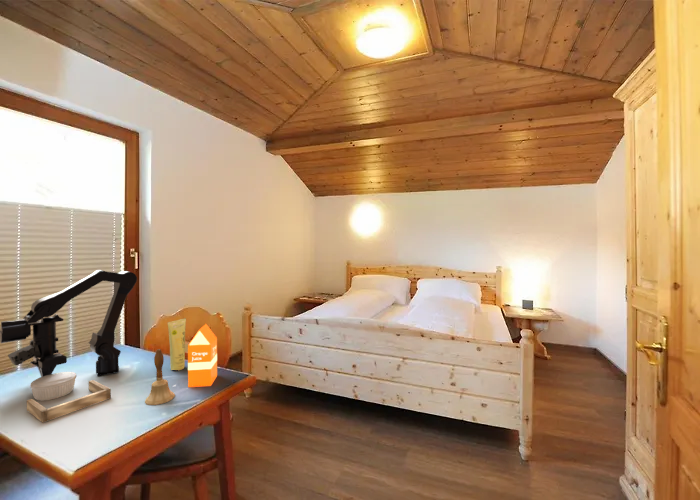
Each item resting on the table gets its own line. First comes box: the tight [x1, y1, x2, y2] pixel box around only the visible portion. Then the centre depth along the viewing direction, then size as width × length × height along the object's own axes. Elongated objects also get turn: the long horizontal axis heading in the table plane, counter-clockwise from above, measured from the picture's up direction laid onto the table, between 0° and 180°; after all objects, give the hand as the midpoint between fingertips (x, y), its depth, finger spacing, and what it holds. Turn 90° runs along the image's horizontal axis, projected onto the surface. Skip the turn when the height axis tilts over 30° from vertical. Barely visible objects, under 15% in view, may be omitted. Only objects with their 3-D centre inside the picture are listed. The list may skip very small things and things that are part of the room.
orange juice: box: [187, 323, 218, 388], centre depth 115 cm, size 8×9×20 cm
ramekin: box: [29, 371, 77, 401], centre depth 105 cm, size 11×11×5 cm
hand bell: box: [144, 348, 176, 406], centre depth 102 cm, size 8×8×16 cm
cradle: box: [26, 379, 112, 423], centre depth 99 cm, size 16×13×3 cm
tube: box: [167, 318, 187, 371], centre depth 126 cm, size 6×5×20 cm
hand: (45, 381), depth 109 cm, fingers closed
